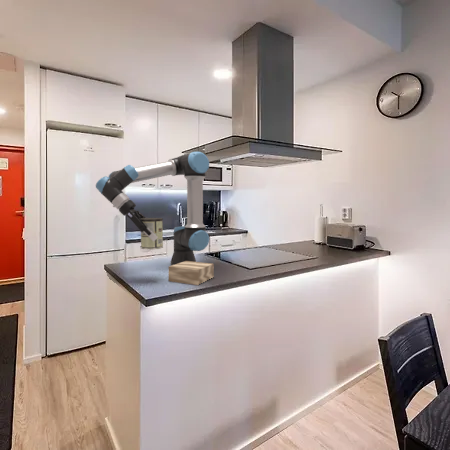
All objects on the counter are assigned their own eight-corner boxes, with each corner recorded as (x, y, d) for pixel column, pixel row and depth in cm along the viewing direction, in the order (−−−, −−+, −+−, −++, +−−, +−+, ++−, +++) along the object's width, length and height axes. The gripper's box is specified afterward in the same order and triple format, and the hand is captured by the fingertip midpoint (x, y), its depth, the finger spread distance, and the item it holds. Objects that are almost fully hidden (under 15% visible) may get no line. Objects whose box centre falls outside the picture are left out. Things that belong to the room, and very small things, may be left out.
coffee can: (143, 246, 151) (143, 217, 150) (164, 246, 151) (164, 217, 150) (138, 249, 141) (137, 218, 140) (160, 249, 141) (160, 219, 140)
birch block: (186, 274, 160) (186, 260, 160) (213, 277, 154) (213, 263, 153) (168, 281, 146) (168, 266, 145) (198, 285, 139) (198, 270, 139)
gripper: (126, 209, 156) (157, 240, 157) (110, 211, 133) (147, 247, 135) (136, 199, 155) (167, 230, 157) (122, 198, 133) (159, 235, 134)
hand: (158, 238), depth 146 cm, fingers closed on coffee can, 10 cm apart
